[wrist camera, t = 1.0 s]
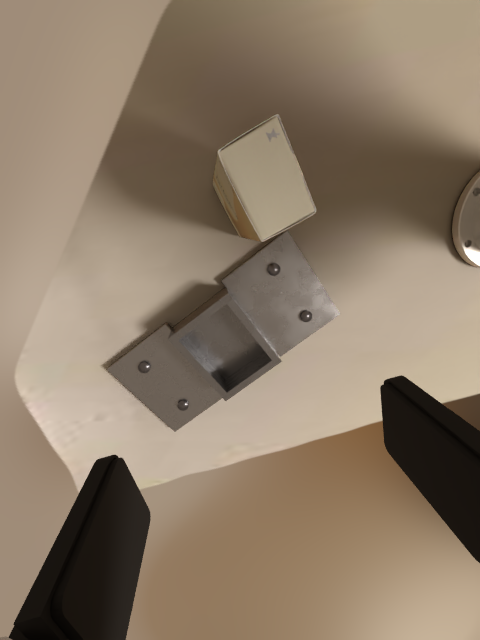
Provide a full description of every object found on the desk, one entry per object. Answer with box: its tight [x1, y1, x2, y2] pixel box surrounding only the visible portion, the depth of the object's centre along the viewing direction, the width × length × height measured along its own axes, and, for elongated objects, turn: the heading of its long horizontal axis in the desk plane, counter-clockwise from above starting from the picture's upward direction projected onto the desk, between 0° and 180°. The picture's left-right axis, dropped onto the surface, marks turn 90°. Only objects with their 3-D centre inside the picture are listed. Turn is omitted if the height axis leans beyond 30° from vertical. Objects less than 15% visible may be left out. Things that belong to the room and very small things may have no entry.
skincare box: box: [212, 114, 316, 242], centre depth 22 cm, size 6×4×12 cm
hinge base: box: [107, 230, 340, 431], centre depth 31 cm, size 26×12×4 cm, turn 126°
